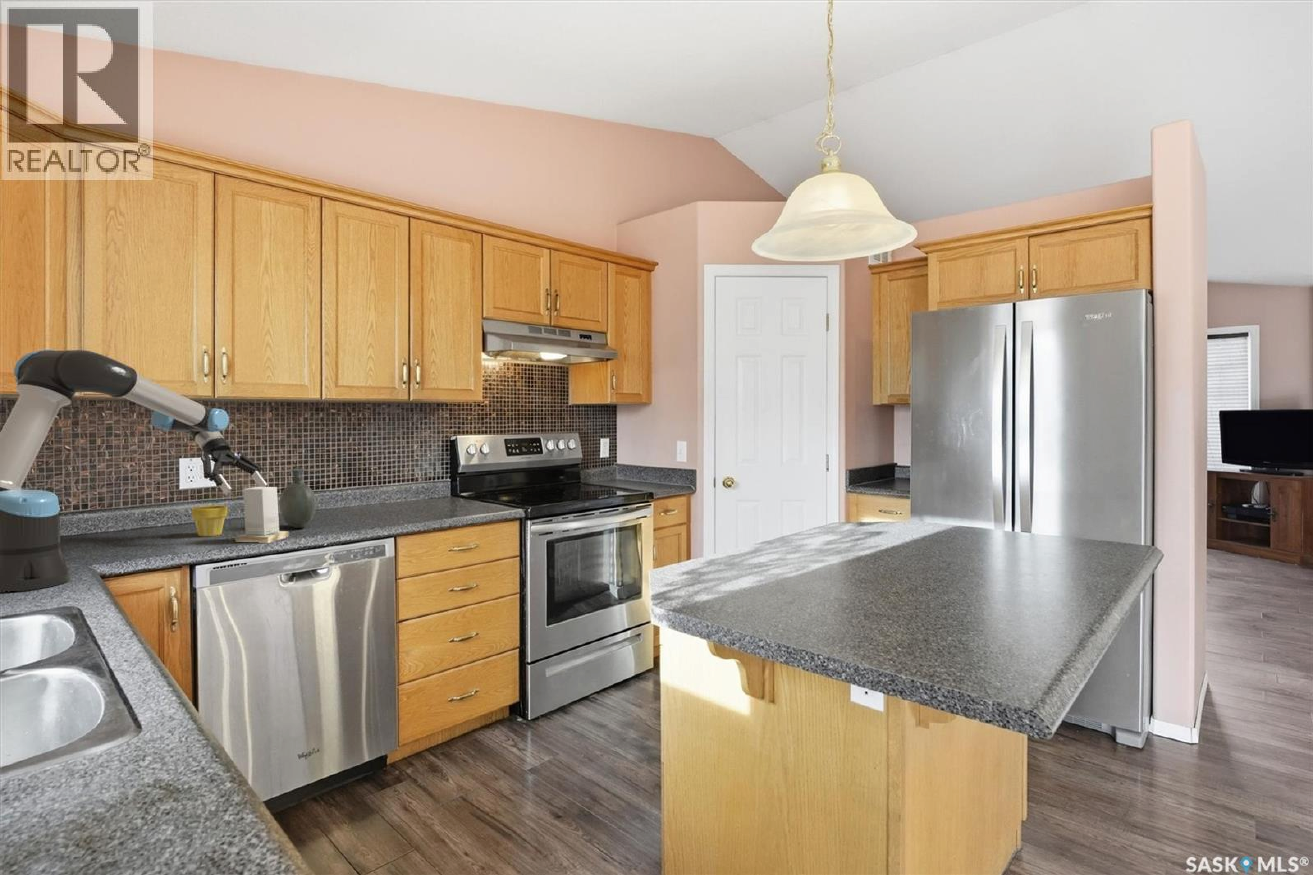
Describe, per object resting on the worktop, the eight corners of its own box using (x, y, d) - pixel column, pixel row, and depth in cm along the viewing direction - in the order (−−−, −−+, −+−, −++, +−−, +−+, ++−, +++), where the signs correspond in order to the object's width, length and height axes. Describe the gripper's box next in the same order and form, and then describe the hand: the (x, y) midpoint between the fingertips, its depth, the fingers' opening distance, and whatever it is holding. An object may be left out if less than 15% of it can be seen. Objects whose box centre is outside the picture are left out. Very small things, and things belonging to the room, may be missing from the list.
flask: (282, 532, 234) (281, 471, 233) (278, 525, 248) (277, 467, 247) (318, 529, 240) (317, 469, 239) (313, 522, 254) (312, 466, 254)
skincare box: (279, 532, 223) (278, 486, 222) (263, 536, 216) (262, 489, 216) (260, 531, 225) (259, 485, 224) (243, 534, 219) (242, 488, 218)
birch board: (267, 543, 215) (267, 536, 215) (235, 542, 216) (235, 536, 216) (288, 536, 226) (288, 530, 226) (258, 536, 227) (258, 530, 227)
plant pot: (218, 531, 237) (217, 504, 236) (233, 533, 231) (233, 506, 231) (186, 535, 228) (185, 507, 227) (201, 538, 222) (200, 510, 222)
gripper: (240, 449, 240) (272, 492, 236) (171, 453, 216) (206, 501, 212) (251, 435, 238) (283, 478, 234) (182, 438, 214) (218, 485, 210)
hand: (247, 489), depth 223 cm, fingers open, 13 cm apart
